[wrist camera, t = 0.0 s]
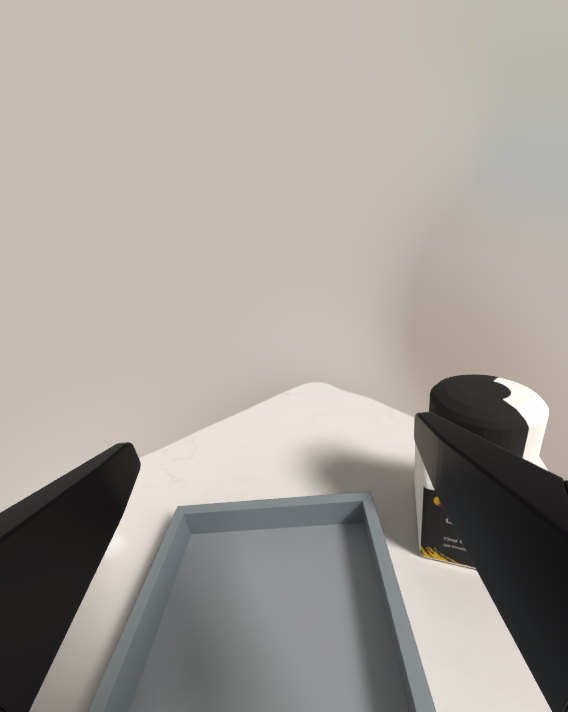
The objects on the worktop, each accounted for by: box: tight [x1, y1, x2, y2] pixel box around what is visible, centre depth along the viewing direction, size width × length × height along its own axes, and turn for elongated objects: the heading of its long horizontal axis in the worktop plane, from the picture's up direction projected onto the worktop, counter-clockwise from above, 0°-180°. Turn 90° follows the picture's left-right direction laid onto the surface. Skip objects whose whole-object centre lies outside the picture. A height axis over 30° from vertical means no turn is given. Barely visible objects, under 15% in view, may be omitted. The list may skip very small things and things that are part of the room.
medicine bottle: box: [414, 375, 549, 569], centre depth 20 cm, size 7×7×12 cm
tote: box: [88, 491, 436, 712], centre depth 15 cm, size 18×16×3 cm
